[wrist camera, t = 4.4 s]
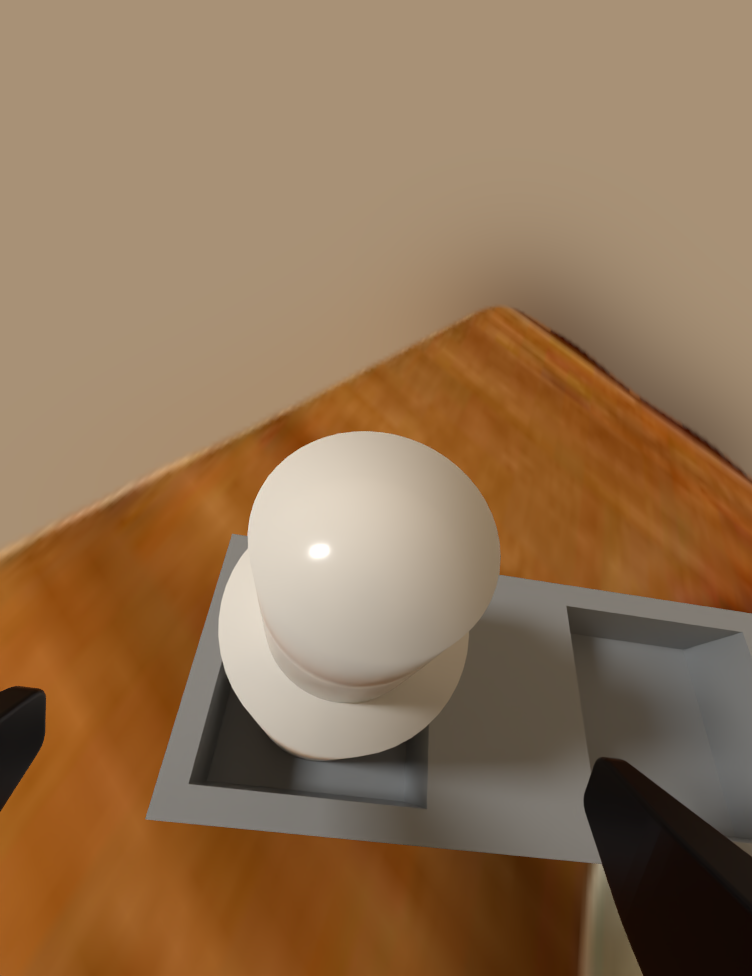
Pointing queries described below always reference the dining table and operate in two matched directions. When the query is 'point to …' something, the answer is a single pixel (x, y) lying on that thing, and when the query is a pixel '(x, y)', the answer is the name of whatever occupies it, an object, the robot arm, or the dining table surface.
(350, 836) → the caddy
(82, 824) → the dining table surface
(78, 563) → the dining table surface
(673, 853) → the robot arm
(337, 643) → the white stepped cylinder
